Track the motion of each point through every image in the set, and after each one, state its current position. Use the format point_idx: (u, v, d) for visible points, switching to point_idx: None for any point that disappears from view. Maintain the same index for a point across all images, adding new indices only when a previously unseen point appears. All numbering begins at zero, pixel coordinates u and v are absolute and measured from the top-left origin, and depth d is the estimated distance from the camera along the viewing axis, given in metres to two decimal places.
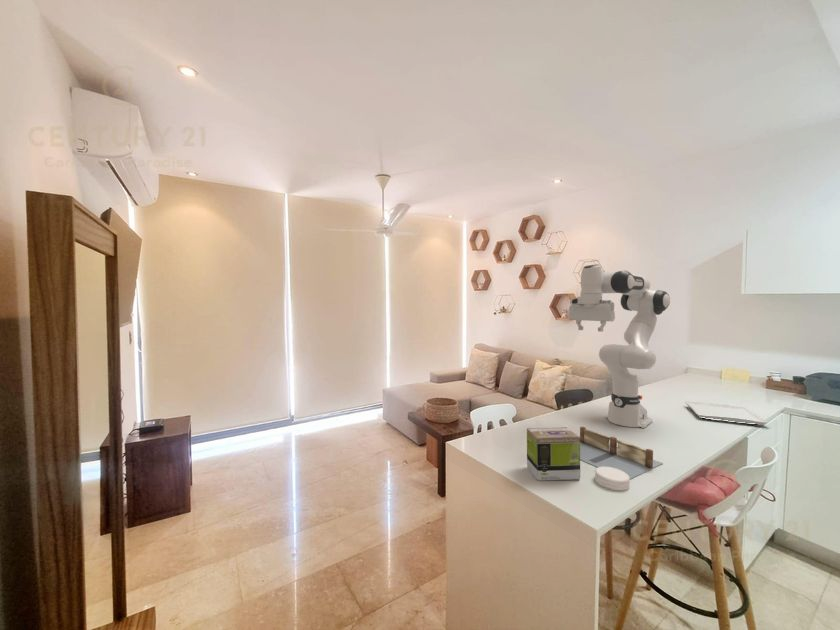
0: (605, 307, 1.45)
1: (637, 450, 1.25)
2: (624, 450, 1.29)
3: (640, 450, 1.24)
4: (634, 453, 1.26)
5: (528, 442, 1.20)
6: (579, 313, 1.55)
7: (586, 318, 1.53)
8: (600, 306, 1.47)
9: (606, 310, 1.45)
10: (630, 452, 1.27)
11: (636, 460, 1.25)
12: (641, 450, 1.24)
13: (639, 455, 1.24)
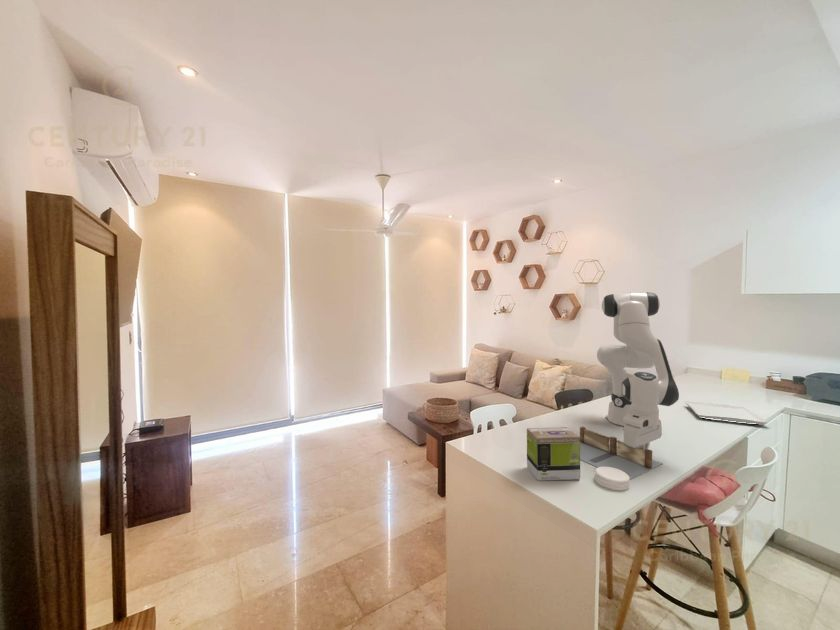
0: (659, 423, 1.27)
1: (636, 450, 1.25)
2: (624, 450, 1.29)
3: (639, 450, 1.24)
4: (633, 453, 1.26)
5: (528, 442, 1.20)
6: (643, 436, 1.21)
7: (647, 441, 1.23)
8: None
9: (660, 426, 1.27)
10: (629, 452, 1.27)
11: (635, 460, 1.25)
12: (640, 450, 1.23)
13: (638, 455, 1.24)
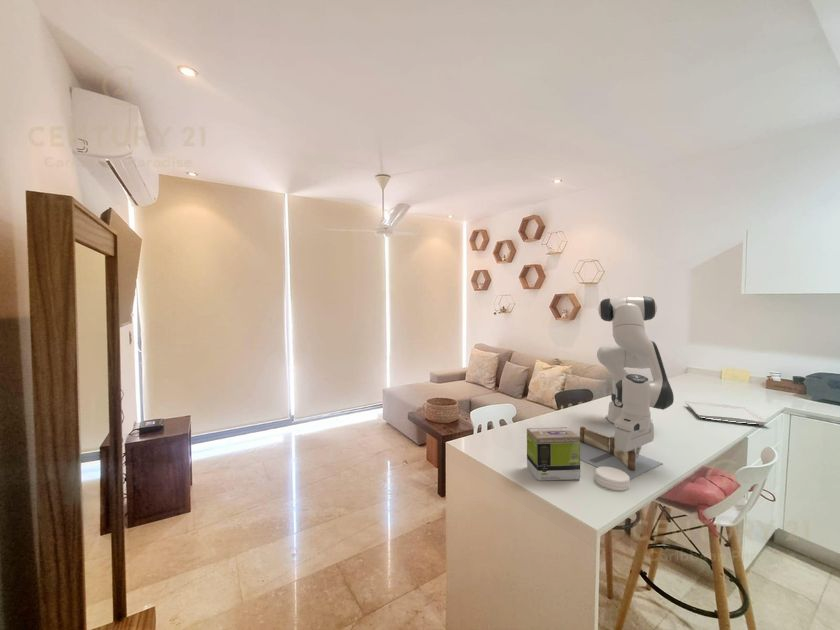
0: (651, 426, 1.24)
1: None
2: (617, 450, 1.28)
3: None
4: (622, 454, 1.25)
5: (528, 442, 1.20)
6: (634, 440, 1.18)
7: (639, 445, 1.20)
8: None
9: (652, 429, 1.25)
10: (620, 453, 1.26)
11: (623, 461, 1.24)
12: None
13: (625, 456, 1.23)
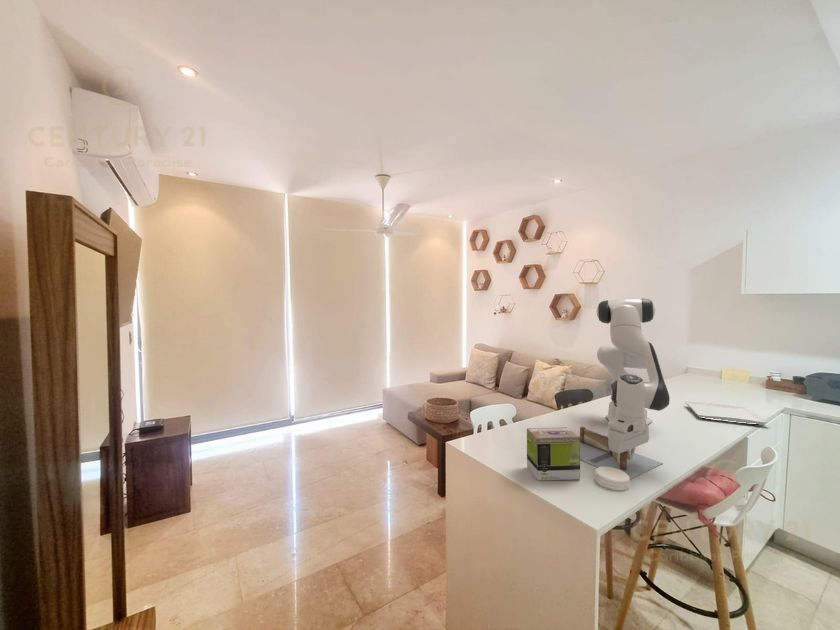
0: (646, 427, 1.23)
1: None
2: None
3: None
4: (617, 453, 1.25)
5: (528, 442, 1.20)
6: (628, 441, 1.18)
7: (633, 446, 1.19)
8: None
9: (646, 430, 1.24)
10: None
11: (618, 460, 1.25)
12: None
13: (619, 456, 1.24)
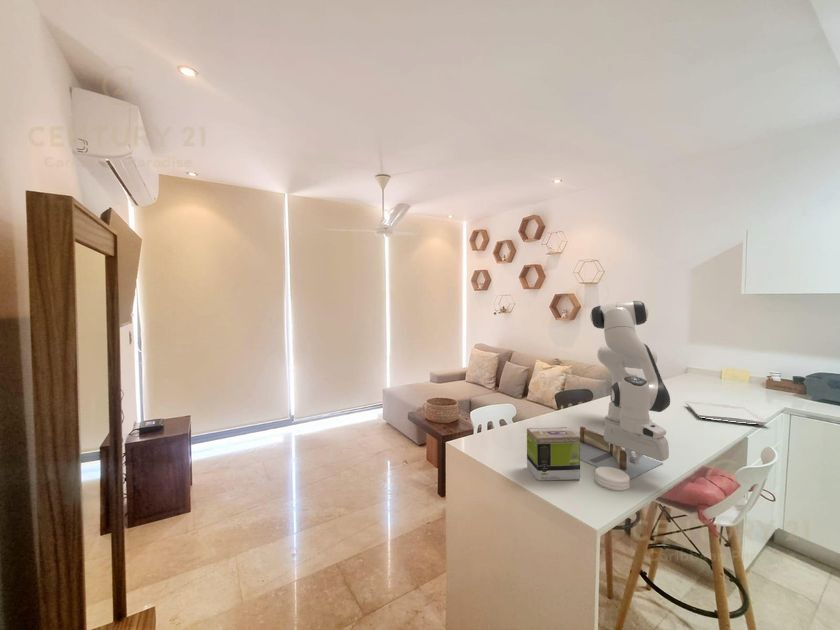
0: None
1: (618, 450, 1.24)
2: (614, 450, 1.29)
3: (619, 451, 1.23)
4: (617, 453, 1.25)
5: (528, 442, 1.20)
6: None
7: None
8: None
9: None
10: (616, 452, 1.27)
11: (617, 460, 1.25)
12: (619, 451, 1.23)
13: (618, 456, 1.24)
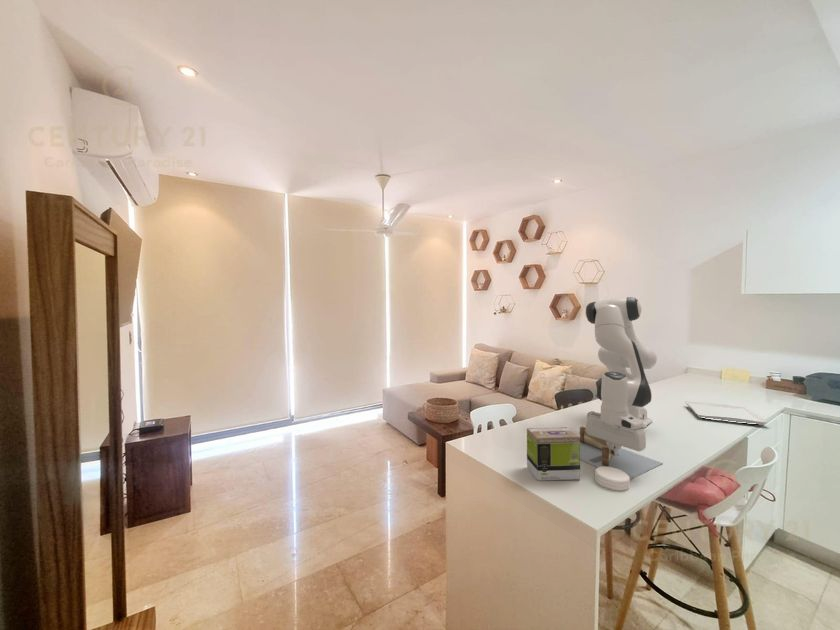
0: None
1: None
2: None
3: None
4: None
5: (528, 442, 1.20)
6: None
7: None
8: None
9: None
10: None
11: None
12: None
13: None
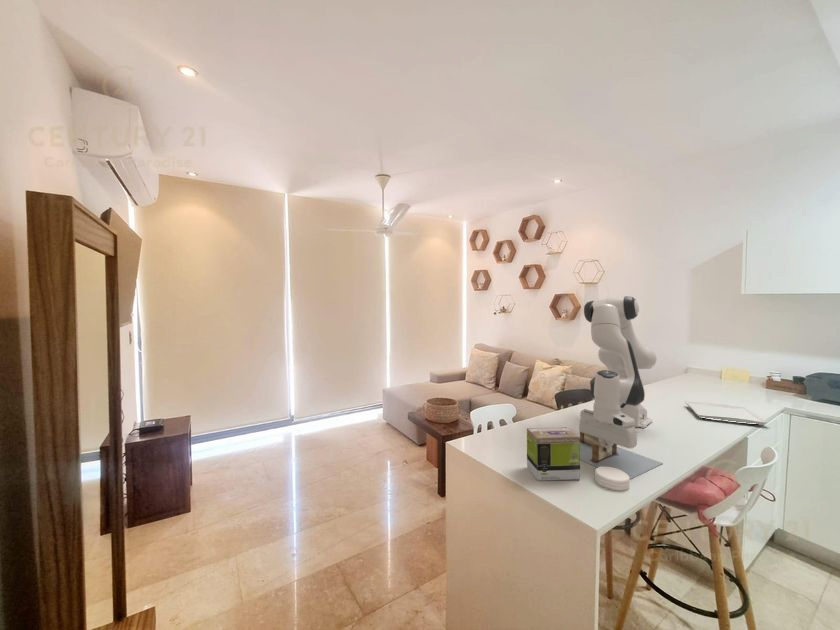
0: None
1: None
2: None
3: None
4: None
5: (528, 442, 1.20)
6: None
7: None
8: None
9: None
10: None
11: None
12: None
13: None
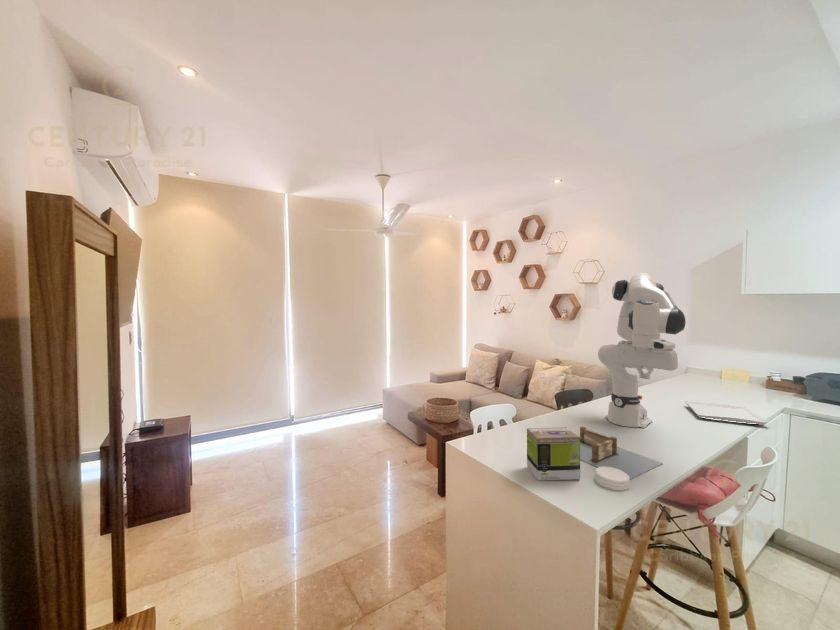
0: None
1: None
2: None
3: None
4: None
5: (528, 442, 1.20)
6: None
7: None
8: None
9: None
10: None
11: None
12: None
13: None
